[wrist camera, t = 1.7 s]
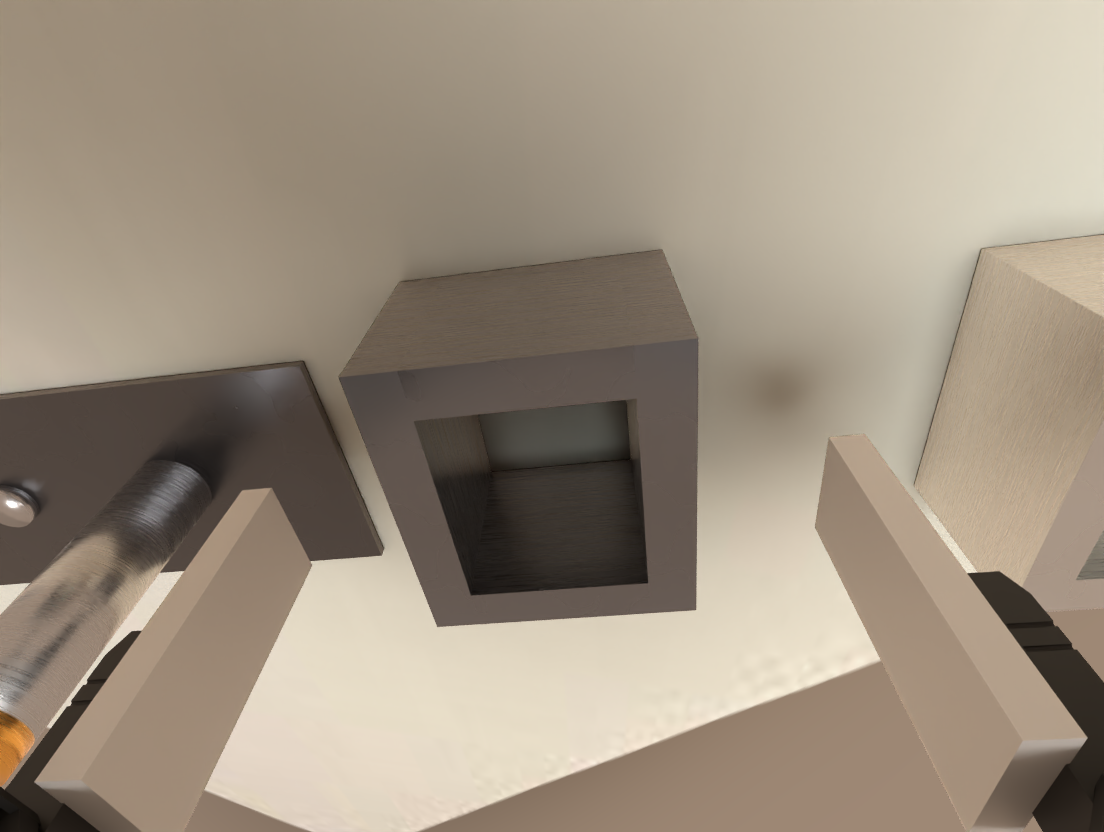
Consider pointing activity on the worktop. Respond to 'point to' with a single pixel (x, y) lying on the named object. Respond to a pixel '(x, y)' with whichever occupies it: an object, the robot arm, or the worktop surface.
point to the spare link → (1027, 423)
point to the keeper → (144, 508)
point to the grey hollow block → (548, 492)
